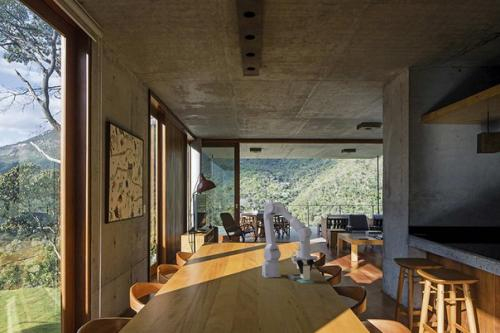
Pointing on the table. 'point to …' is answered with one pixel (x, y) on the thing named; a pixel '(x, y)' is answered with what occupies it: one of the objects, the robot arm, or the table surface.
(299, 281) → the mat
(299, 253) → the mug
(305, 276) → the plug
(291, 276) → the grey square frame
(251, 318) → the table surface
